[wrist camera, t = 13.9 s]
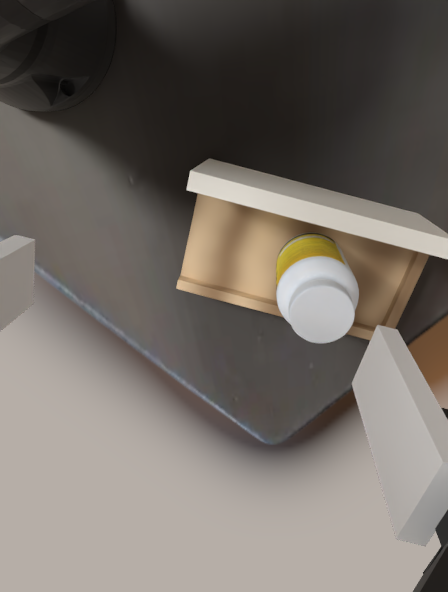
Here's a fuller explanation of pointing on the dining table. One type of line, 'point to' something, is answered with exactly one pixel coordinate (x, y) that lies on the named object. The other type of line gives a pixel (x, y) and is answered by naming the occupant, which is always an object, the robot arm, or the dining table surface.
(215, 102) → the dining table surface
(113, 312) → the dining table surface
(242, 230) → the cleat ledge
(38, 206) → the dining table surface
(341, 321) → the pill bottle
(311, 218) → the wall board
